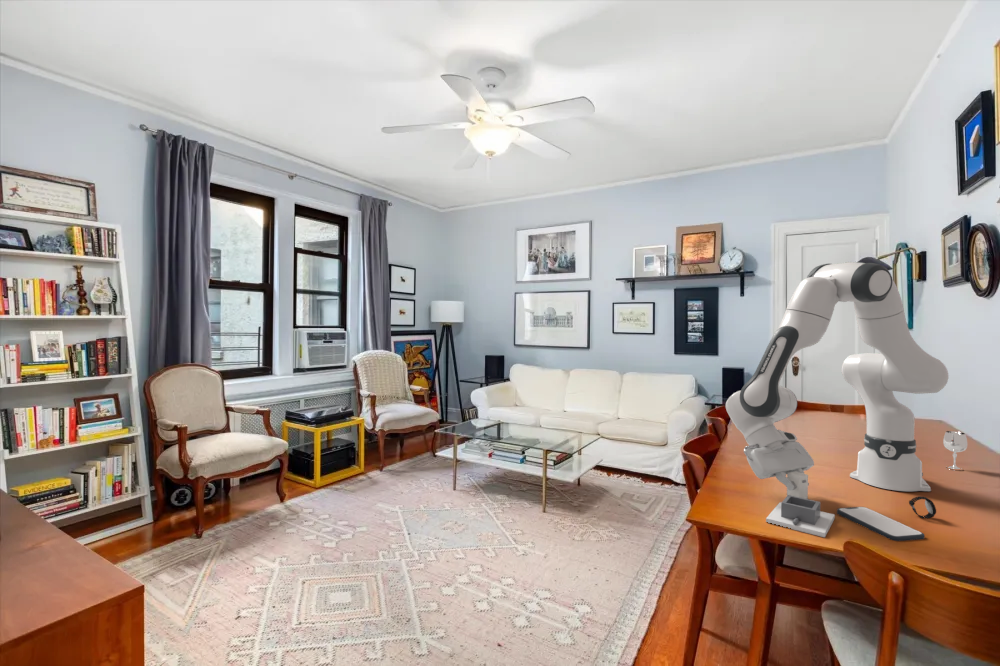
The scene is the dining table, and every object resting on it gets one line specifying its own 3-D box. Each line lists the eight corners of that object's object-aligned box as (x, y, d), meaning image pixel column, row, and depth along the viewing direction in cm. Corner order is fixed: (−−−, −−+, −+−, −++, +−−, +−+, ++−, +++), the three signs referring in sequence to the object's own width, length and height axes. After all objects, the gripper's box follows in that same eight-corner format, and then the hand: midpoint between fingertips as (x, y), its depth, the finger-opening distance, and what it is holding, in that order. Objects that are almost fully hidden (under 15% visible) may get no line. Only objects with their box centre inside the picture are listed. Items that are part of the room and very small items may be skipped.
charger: (795, 500, 131) (795, 471, 131) (808, 504, 128) (808, 475, 127) (786, 502, 130) (787, 472, 129) (799, 506, 126) (800, 476, 126)
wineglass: (965, 472, 154) (966, 435, 154) (941, 468, 158) (942, 432, 158) (967, 469, 158) (968, 432, 157) (943, 465, 162) (944, 429, 162)
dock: (779, 505, 127) (780, 488, 127) (834, 518, 119) (835, 500, 119) (765, 522, 117) (766, 504, 117) (824, 537, 109) (825, 517, 108)
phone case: (927, 541, 108) (864, 511, 124) (928, 534, 108) (864, 505, 124) (894, 544, 107) (833, 514, 123) (894, 537, 107) (834, 508, 123)
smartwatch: (936, 522, 117) (936, 502, 117) (908, 516, 120) (909, 496, 120) (935, 517, 120) (936, 497, 120) (908, 511, 123) (909, 492, 123)
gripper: (748, 440, 130) (781, 487, 122) (798, 433, 139) (832, 477, 130) (733, 452, 135) (765, 499, 126) (783, 444, 143) (815, 488, 134)
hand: (799, 487), depth 128 cm, fingers closed on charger, 3 cm apart
